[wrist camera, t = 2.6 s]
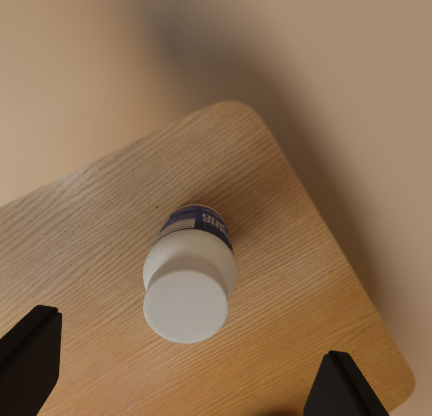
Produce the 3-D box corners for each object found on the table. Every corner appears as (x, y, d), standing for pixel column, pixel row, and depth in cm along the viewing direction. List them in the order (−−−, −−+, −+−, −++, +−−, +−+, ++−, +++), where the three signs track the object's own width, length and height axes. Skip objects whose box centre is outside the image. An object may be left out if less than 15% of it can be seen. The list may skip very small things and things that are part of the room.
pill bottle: (238, 245, 21) (263, 329, 12) (183, 272, 22) (164, 372, 12) (210, 190, 20) (212, 234, 10) (151, 219, 20) (103, 287, 11)
